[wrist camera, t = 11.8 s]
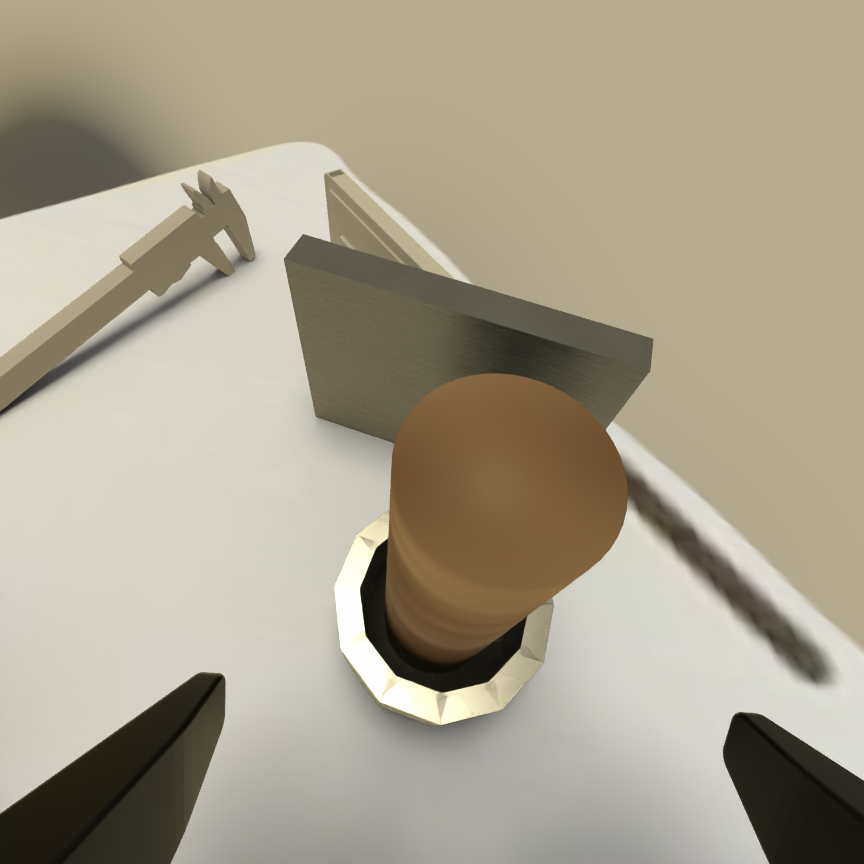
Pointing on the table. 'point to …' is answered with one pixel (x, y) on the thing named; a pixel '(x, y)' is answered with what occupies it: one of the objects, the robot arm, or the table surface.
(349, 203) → the cassette
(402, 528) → the rail post
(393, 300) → the cup bracket
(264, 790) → the table surface
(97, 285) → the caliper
